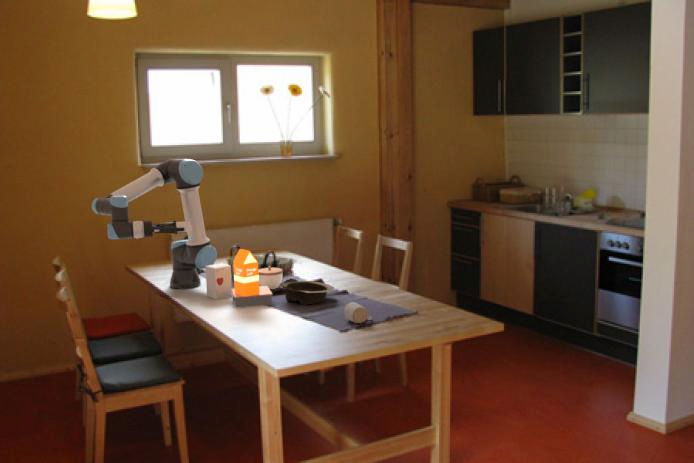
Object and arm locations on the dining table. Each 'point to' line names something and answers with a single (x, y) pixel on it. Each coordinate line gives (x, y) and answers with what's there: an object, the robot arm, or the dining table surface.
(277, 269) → the lidded bowl
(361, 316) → the ceramic mug
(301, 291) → the stone bowl
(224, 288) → the supplement box
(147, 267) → the dining table surface
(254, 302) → the podium
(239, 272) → the orange juice
